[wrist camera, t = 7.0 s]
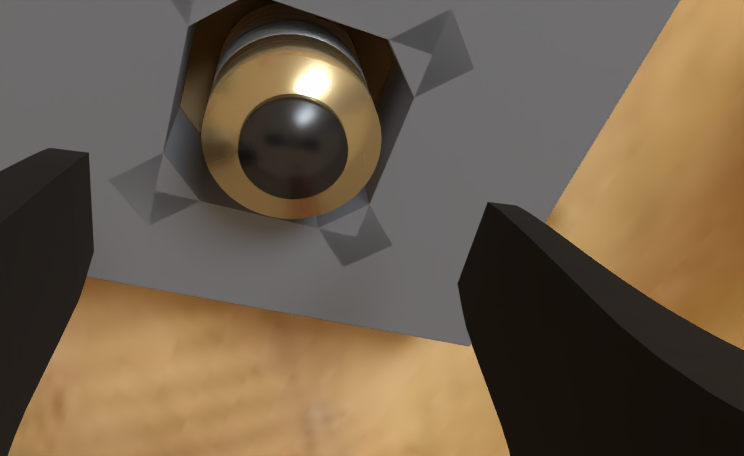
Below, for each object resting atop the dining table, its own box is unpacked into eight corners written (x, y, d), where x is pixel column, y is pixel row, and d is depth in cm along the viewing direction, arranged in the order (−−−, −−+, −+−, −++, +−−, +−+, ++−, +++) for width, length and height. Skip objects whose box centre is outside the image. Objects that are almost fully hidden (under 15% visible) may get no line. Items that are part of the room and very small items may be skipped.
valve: (373, 19, 16) (404, 82, 12) (343, 147, 18) (361, 237, 14) (226, -13, 15) (207, 44, 11) (212, 125, 18) (192, 216, 13)
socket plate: (623, -32, 16) (684, -7, 14) (448, 289, 22) (469, 346, 20) (-20, -313, 12) (-100, -350, 9) (-27, 188, 18) (-77, 246, 15)
